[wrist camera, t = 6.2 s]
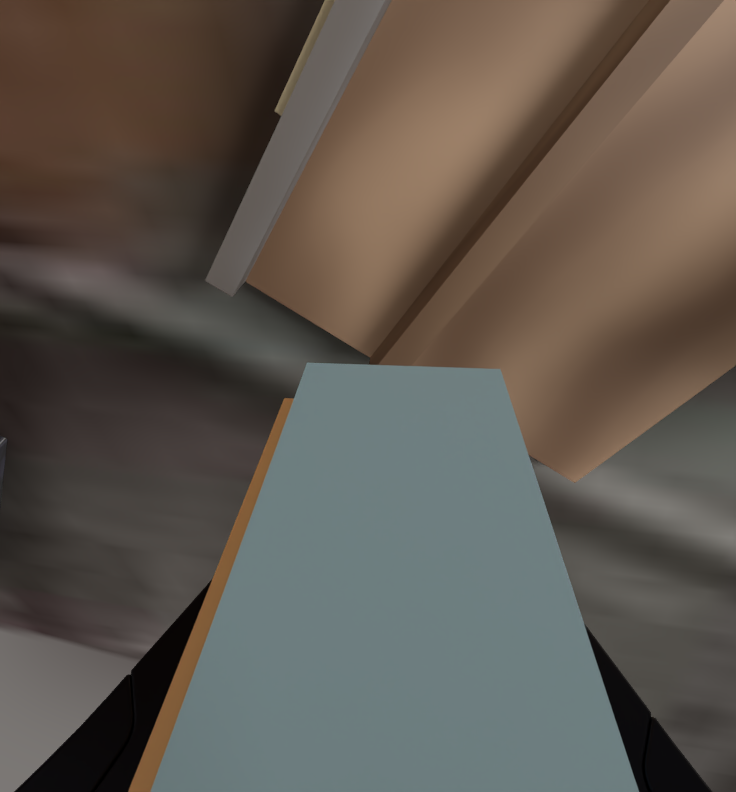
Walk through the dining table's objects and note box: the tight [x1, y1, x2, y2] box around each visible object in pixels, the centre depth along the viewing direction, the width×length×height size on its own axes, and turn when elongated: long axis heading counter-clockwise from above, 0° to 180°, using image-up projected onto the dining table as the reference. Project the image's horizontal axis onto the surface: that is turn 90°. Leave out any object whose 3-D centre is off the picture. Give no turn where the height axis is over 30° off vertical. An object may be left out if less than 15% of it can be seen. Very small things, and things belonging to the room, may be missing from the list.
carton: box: [128, 363, 639, 792], centre depth 7 cm, size 4×6×8 cm, turn 0°
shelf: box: [205, 0, 736, 483], centre depth 15 cm, size 18×16×3 cm
